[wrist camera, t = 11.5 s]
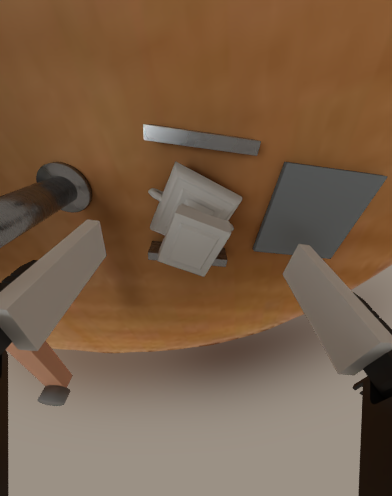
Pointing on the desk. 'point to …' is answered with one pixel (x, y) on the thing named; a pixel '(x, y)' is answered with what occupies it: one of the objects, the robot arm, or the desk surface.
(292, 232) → the pad
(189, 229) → the stamp
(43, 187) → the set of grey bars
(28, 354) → the ball-knob lever
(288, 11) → the desk surface
